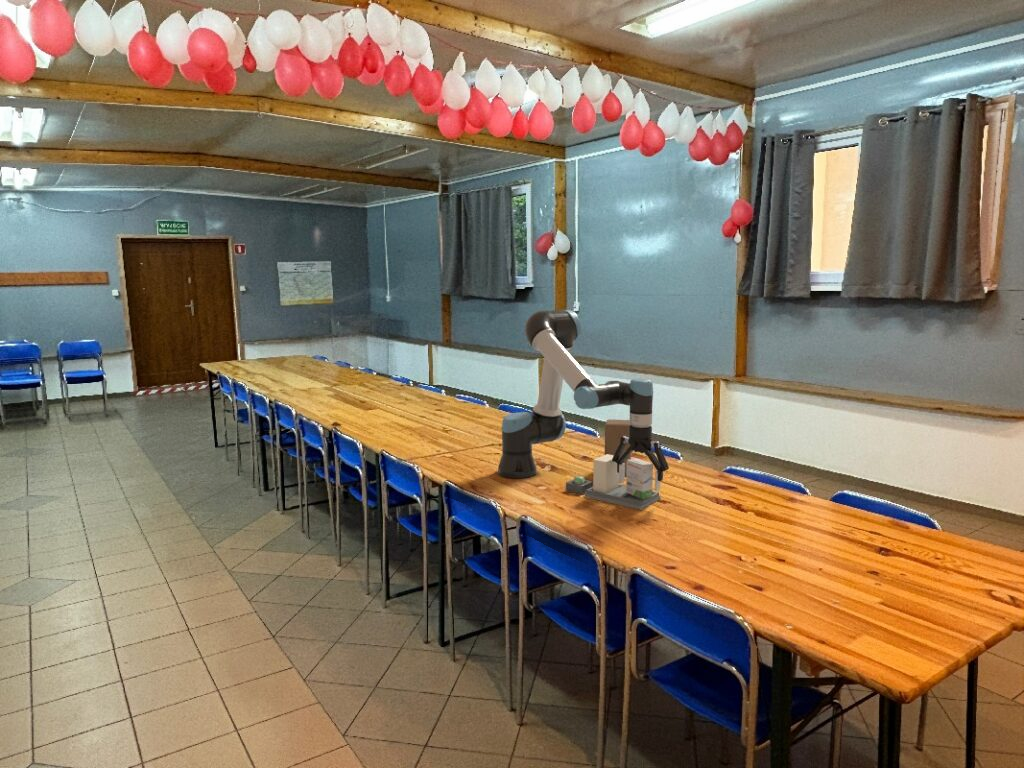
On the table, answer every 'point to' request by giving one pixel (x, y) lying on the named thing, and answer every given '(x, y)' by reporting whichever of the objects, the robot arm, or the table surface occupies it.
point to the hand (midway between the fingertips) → (639, 486)
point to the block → (616, 437)
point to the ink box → (639, 478)
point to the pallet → (622, 497)
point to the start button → (579, 480)
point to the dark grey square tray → (578, 486)
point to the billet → (605, 474)
